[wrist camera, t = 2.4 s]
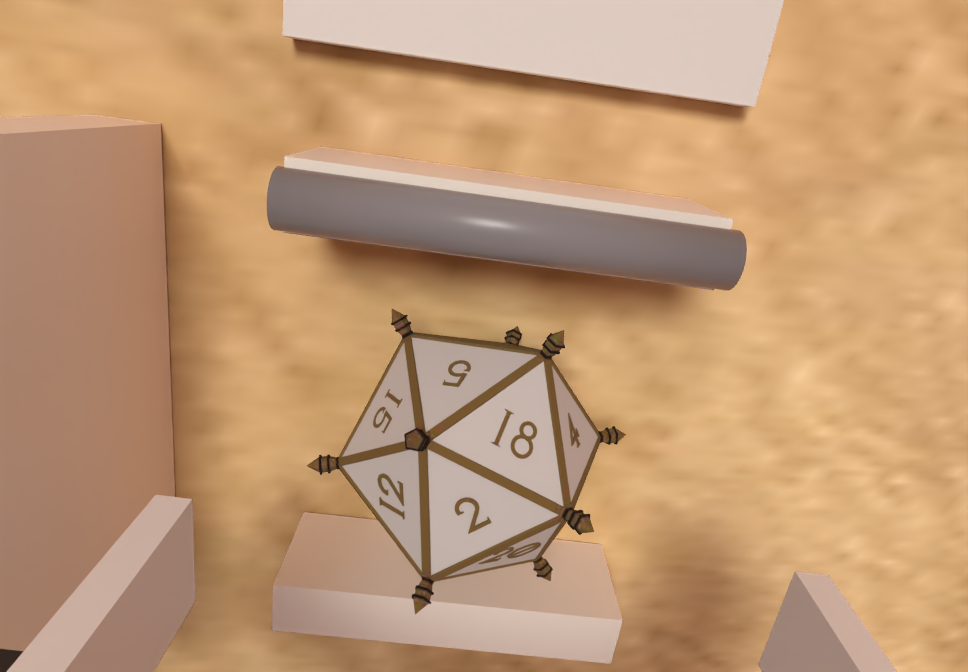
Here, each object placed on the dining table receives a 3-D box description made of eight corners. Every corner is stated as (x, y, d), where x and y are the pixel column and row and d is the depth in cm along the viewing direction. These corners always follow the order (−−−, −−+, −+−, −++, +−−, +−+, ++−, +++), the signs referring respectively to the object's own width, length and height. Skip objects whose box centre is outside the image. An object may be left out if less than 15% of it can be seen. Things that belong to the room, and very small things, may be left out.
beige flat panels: (591, 583, 26) (655, 851, 17) (126, 534, 25) (-84, 791, 16) (687, 198, 21) (861, 277, 11) (95, 114, 20) (-256, 124, 10)
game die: (518, 337, 26) (735, 430, 19) (422, 519, 26) (606, 688, 18) (353, 232, 20) (576, 308, 13) (223, 467, 20) (378, 686, 12)
